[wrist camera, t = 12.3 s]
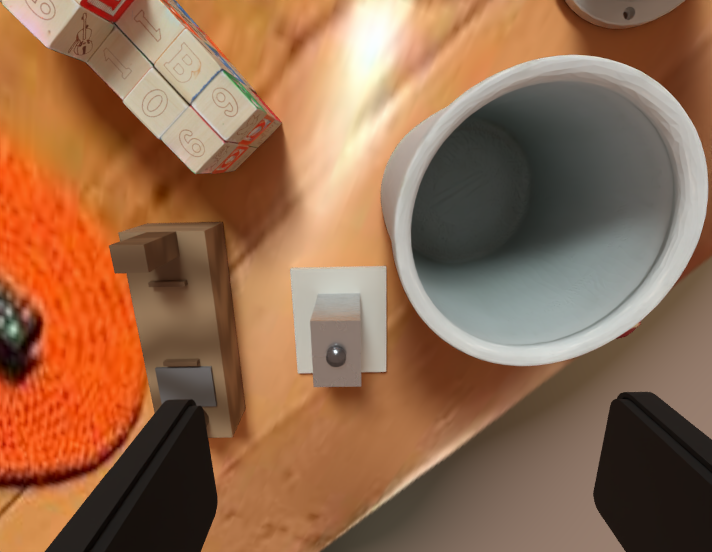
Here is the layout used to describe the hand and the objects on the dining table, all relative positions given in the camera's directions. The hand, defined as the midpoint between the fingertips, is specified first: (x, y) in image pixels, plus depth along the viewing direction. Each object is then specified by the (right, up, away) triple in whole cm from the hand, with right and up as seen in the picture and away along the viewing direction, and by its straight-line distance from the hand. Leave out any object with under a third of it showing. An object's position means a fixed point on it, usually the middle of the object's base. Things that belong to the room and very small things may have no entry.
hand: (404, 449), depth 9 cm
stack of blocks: (-17, +23, +23) cm, 37 cm away
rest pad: (-3, 0, +30) cm, 30 cm away
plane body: (-17, -1, +30) cm, 34 cm away
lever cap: (-3, 0, +29) cm, 29 cm away
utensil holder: (+8, +11, +26) cm, 30 cm away
